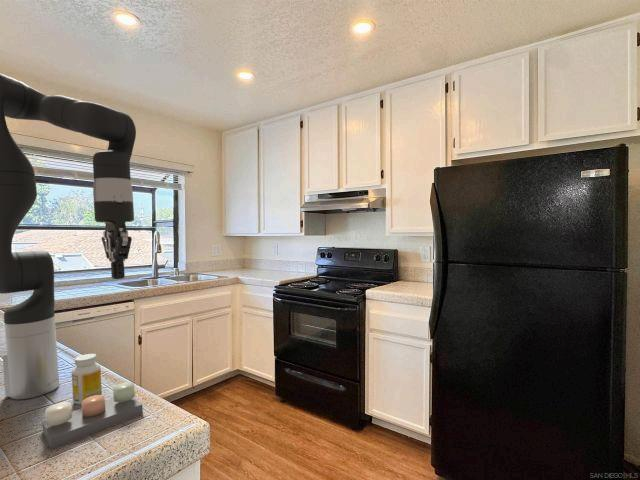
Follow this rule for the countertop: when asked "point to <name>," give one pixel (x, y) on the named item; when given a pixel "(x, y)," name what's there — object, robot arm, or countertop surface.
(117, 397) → the sage button
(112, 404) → the button panel
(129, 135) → the robot arm
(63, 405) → the cream button
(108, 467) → the countertop surface
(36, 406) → the countertop surface
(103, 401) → the terracotta button
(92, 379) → the supplement bottle
